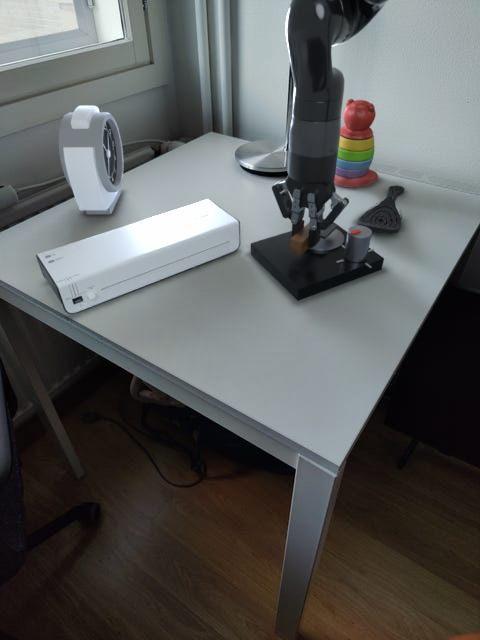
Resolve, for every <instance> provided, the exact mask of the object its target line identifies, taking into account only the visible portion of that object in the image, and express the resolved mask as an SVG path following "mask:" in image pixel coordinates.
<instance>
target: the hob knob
mask: <svg viewBox="0 0 480 640" xmlns="http://www.w3.org/2000/svg"><path fill="white" fill-rule="evenodd" d="M347 232H348V233H347V239H346V246H345V252H344V257H345V258H346V259H347V260H349V261H351V262H363V261H365V260H366V259H367V255H368V250H369V248H370V245H371V239H372V236H373V235H372V234H373V231H372V230H370V229H369V228H367V227H365V226H358V225H352V226H350V227H348V229H347Z"/></svg>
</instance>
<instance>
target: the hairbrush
mask: <svg viewBox="0 0 480 640" xmlns="http://www.w3.org/2000/svg"><path fill="white" fill-rule="evenodd" d="M404 193H405V187H404V186H402V185H395V184H394V185H390V186H388V193H387V195H386V196H385V198H384V199H382V200H381V201H380V202H379V203H378V202H377V203H375V204H374V206H371V207H370V208H368V209H367V210H366V211H365V212H364V213H363V214H362V215H361V216H360V217H359V218H358V220H357V223H356V226H365V227H367V228H369V229H370V230H371V231H372V232H377V233H384V234H387V235H388V234H389V235H390V234H398V232H399V231H400V229H401V226H402V219H403V216H402V212H401V209H400V208H397V206H398V203H396V200H397V199H398V198H399V197H400V196H402V195H403V194H404ZM396 205H397V206H396Z"/></svg>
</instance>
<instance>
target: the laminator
mask: <svg viewBox="0 0 480 640" xmlns="http://www.w3.org/2000/svg"><path fill="white" fill-rule="evenodd" d="M240 246H241V221H240V220H239V219H238V218H236V217H235V216H233V215H232V214H231V213H229V212H228V211H227V210H225V209H224V208H223V207H221V206H220V205H218V204H217V203H215V202H214V201H213V200H211V199H210V198H207V199H204V200H200V201H199V202H194V203H192V204H188V205H186V206H183V207H179V208H177V209H173V210H170V211H167V212H164V213H161V214H158V215H153V216H152V217H148V218H145V219H142V220H139V221H136V222H133V223H129V224H127V225H124V226H120V227H116V228H114V229H112V230H107V231H105V232H102V233H99V234H96V235H93V236H90V237H87V238H82V239H80V240H77V241H74V242H71V243H68V244H64V245H61V246H59V247H55V248H52V249H49V250H46V251H43V252H40V253H37V254H35V258H36V260H37V263H38V266H39V268H40V272H41V274H42V276H43V278H44V279H45V280H46V281H47V283H48V285H49V286H50V288H51V289H52V291H53V294H55V296H56V297H57V299H58V301H59V302H60V304H61V306H62V308H63V310H64V312H65V313H66V314H69V315H76V314H79V313H82V312H84V311H87V310H90V309H93V308H94V307H97V306H99V305H102V304H105V303H107V302H110V301H113V300H115V299H118V298H120V297H123V296H125V295H128V294H130V293H133V292H135V291H139V290H141V289H143V288H147V287H149V286H151V285H154V284H156V283H158V282H161V281H164V280H167V279H169V278H171V277H174V276H177V275H180V274H181V273H185V272H187V271H190V270H192V269H194V268H198V267H200V266H202V265H205V264H209V263H210V262H213V261H215V260H218V259H220V258H223V257H225V256H229V255H231V254H233V253H235V252H236V251H238V250H239V248H240Z"/></svg>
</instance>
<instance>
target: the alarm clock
mask: <svg viewBox="0 0 480 640" xmlns="http://www.w3.org/2000/svg"><path fill="white" fill-rule="evenodd" d="M58 128H59V129H58V151H59V159H60V164H61V169H62V172H63V175H64V177H65V179H66V182H67V184H68V186H69V187H70V188H71V190H72V193H73V196H74V199H75V202H76V204H77V207H78V210H79V211H85V213H86V215H112V213H113V212H114V209H115V207H116V204H117V202H118V201H119V198H120V196H121V194H122V188H121V186H122V184H123V178H124V163H125V162H124V149H123V143H122V137H121V133H120V129H119V126H118V123H117V121H116V119H115V117H114V116H113V115H112V114H111V113H110V112H107V111H105V112H104V111H102V112H101V111H100V109H99V107H98V106H96V105H78V106H77V107H76V108H75V109H74V111H73V112H67V113H66V114H64V115H63V117H62V119H61V120H60V124H59V127H58Z"/></svg>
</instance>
